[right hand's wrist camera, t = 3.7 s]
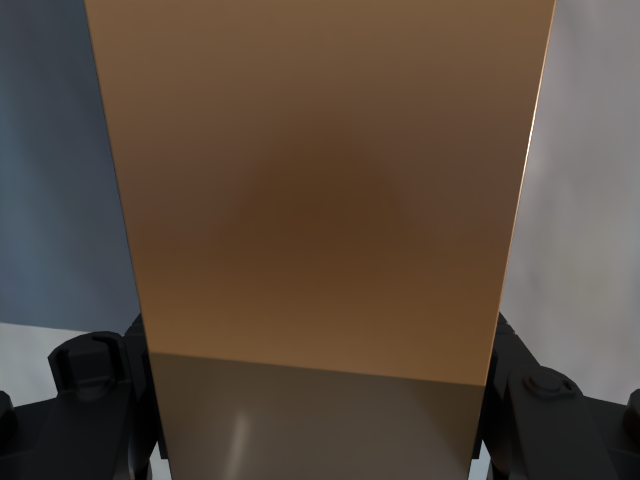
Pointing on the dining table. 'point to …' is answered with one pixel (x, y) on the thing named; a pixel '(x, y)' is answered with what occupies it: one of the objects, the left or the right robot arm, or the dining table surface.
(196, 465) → the bar
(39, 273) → the dining table surface
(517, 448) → the right robot arm
